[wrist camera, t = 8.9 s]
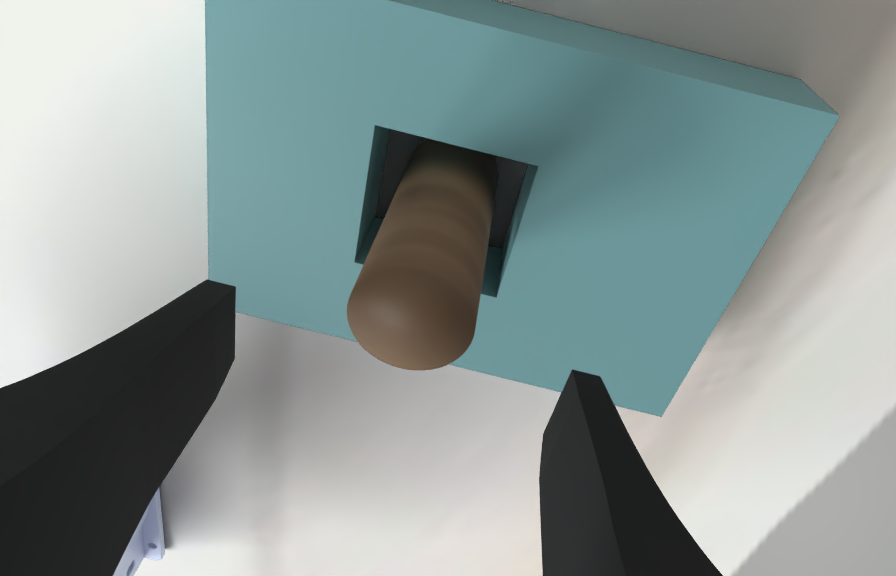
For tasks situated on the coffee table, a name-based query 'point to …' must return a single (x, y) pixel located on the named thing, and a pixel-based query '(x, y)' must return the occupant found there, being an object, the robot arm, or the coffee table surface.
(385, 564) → the coffee table surface
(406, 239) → the peg
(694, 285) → the socket board
